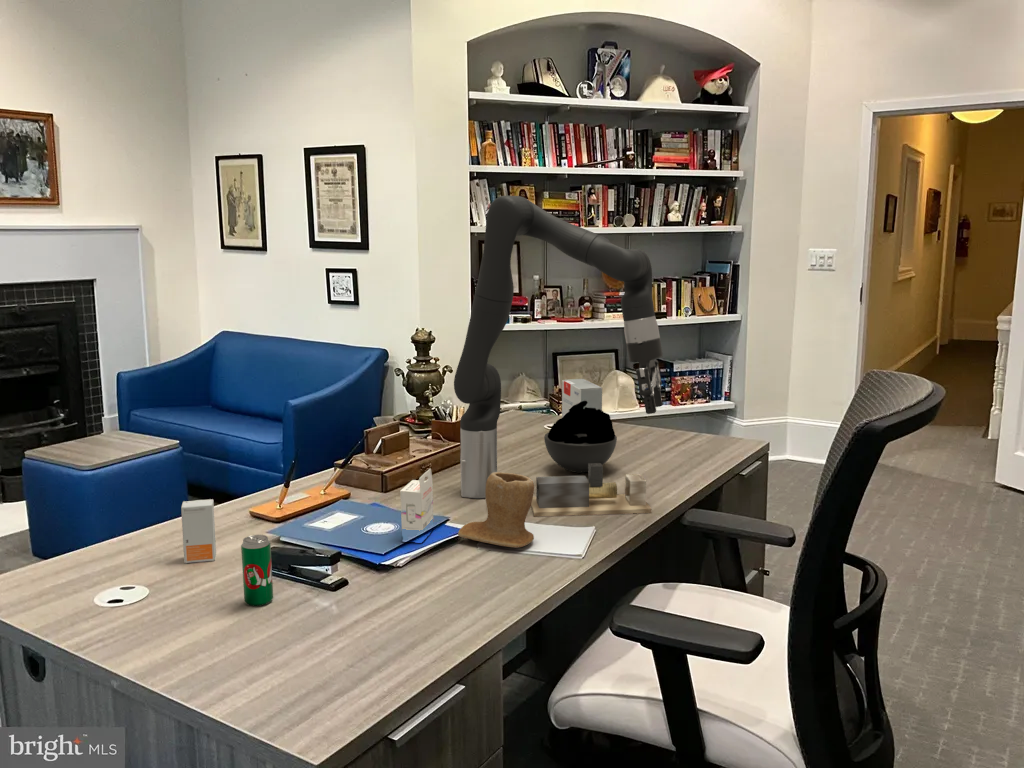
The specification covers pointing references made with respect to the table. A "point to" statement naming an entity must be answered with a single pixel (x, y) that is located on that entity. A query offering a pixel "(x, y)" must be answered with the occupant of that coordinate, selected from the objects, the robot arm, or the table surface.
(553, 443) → the coal bowl
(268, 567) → the soda can
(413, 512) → the ink cartridge box
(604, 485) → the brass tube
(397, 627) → the table surface
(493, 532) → the brown felt boot
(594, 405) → the hard drive box
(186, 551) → the skincare box
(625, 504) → the tube stand
